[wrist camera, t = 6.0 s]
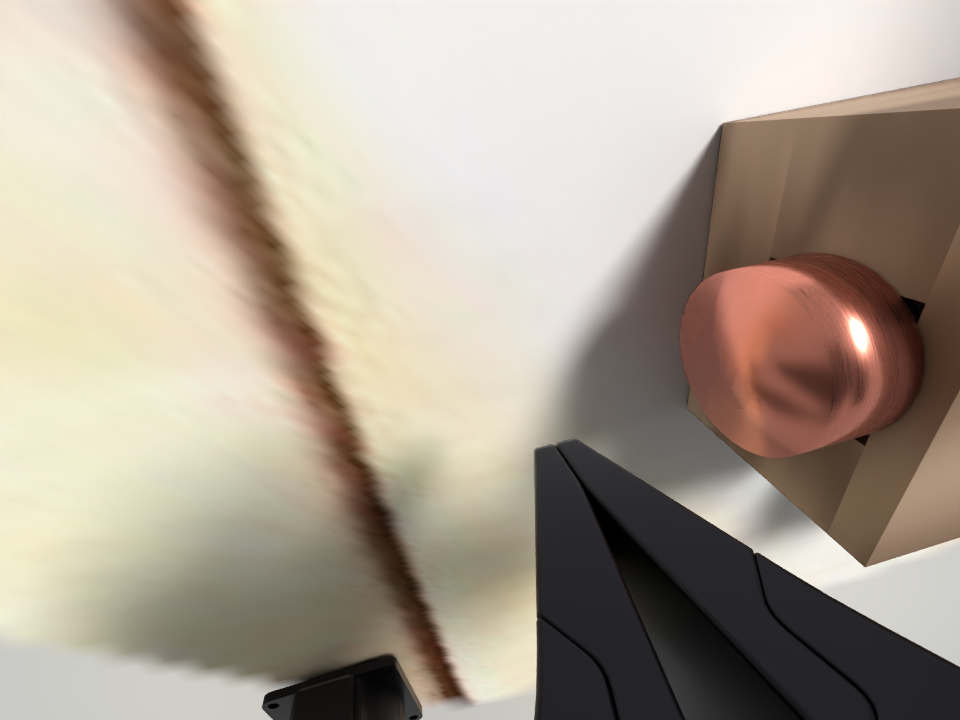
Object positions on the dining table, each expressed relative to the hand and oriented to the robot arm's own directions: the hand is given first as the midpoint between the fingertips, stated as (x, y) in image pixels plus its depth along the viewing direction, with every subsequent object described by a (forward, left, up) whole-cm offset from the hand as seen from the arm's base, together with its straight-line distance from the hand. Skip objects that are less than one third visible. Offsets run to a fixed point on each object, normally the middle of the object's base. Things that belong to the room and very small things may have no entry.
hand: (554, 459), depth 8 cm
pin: (0, -12, -4) cm, 13 cm away
